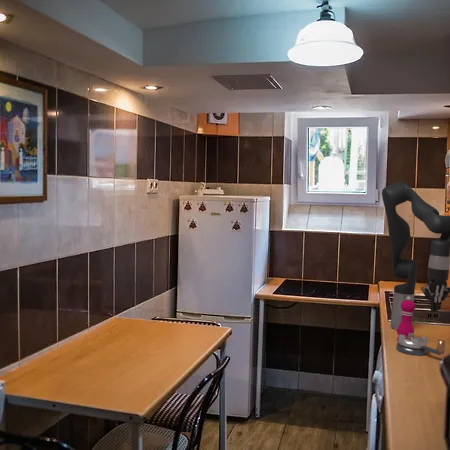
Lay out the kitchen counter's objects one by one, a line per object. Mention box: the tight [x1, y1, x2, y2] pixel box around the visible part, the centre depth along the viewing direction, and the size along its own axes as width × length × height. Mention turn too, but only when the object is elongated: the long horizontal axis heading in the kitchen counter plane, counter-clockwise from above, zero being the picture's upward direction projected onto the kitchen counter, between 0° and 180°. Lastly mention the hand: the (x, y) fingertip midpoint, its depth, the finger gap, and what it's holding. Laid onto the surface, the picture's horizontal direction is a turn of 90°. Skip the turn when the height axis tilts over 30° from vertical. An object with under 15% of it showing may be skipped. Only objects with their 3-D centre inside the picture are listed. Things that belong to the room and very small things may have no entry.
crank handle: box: [397, 332, 446, 356], centre depth 221 cm, size 20×11×6 cm, turn 34°
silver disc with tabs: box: [395, 342, 428, 357], centre depth 225 cm, size 12×12×2 cm
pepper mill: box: [396, 297, 416, 343], centre depth 237 cm, size 7×7×20 cm
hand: (434, 311), depth 213 cm, fingers closed
